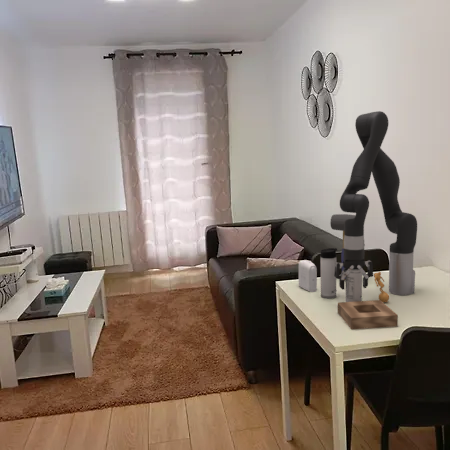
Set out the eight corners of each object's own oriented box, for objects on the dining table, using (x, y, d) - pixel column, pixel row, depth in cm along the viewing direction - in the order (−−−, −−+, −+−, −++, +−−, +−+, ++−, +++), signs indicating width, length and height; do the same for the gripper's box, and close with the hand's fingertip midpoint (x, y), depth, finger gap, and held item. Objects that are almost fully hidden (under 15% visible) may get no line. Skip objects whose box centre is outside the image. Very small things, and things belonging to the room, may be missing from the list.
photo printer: (318, 291, 209) (318, 262, 207) (309, 292, 207) (309, 264, 205) (305, 284, 218) (305, 257, 216) (297, 286, 217) (296, 258, 215)
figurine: (386, 306, 188) (386, 275, 186) (370, 303, 191) (370, 273, 189) (391, 299, 195) (392, 270, 192) (376, 297, 198) (377, 268, 196)
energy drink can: (364, 307, 187) (365, 269, 184) (349, 309, 186) (350, 271, 183) (357, 302, 193) (357, 265, 190) (342, 304, 191) (342, 267, 189)
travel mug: (337, 299, 198) (337, 250, 194) (320, 298, 199) (320, 250, 196) (337, 294, 204) (337, 247, 200) (320, 293, 205) (320, 246, 202)
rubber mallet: (329, 280, 224) (329, 215, 218) (334, 276, 230) (334, 212, 225) (357, 283, 217) (357, 216, 212) (361, 278, 224) (362, 213, 219)
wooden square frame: (379, 310, 184) (380, 299, 183) (397, 326, 168) (397, 315, 167) (337, 312, 183) (337, 302, 182) (351, 329, 167) (351, 318, 166)
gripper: (369, 243, 189) (368, 284, 192) (332, 245, 188) (332, 286, 191) (376, 248, 182) (375, 290, 185) (338, 250, 181) (338, 292, 184)
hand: (353, 288), depth 188 cm, fingers open, 8 cm apart
